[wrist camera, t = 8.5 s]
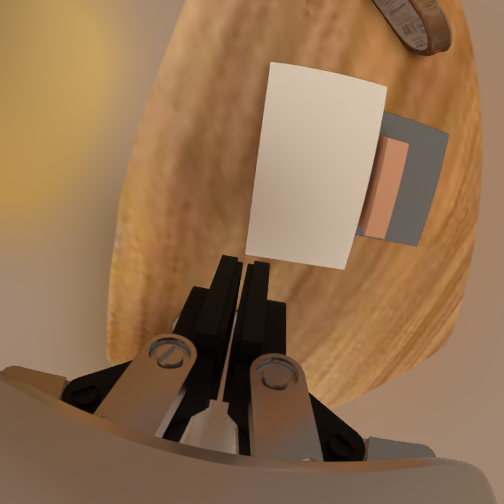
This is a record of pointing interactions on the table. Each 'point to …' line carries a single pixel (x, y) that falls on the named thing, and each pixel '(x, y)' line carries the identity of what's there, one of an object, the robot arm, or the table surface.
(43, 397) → the robot arm
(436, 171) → the mat
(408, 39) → the tin
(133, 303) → the table surface
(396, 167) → the tile
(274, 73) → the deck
